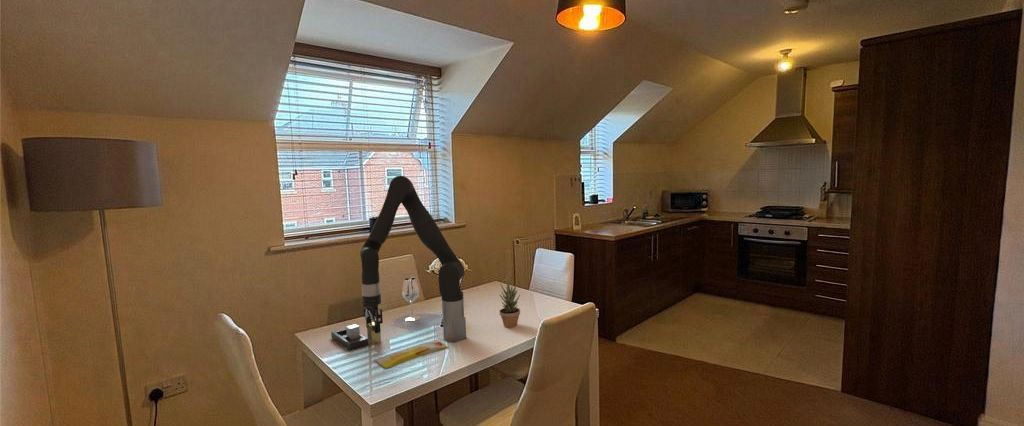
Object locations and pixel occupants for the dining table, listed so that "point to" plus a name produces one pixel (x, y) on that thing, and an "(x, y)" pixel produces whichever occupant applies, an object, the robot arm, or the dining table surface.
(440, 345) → the food package
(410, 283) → the wineglass
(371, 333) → the tan rectangular block
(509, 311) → the potted plant
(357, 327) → the light grey block
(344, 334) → the dark grey tray
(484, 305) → the dining table surface
